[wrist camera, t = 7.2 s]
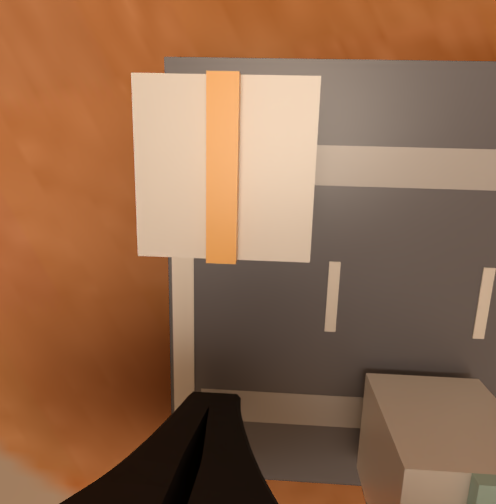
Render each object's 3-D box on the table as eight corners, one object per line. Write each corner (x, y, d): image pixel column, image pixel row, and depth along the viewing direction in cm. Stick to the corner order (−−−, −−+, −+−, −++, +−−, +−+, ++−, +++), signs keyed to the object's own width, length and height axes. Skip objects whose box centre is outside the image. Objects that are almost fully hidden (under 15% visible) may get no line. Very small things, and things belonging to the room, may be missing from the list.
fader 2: (478, 378, 12) (578, 491, 8) (462, 473, 12) (547, 618, 8) (365, 372, 12) (409, 480, 8) (356, 466, 12) (392, 607, 9)
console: (830, 78, 11) (918, 67, 10) (702, 474, 14) (754, 513, 12) (178, 68, 12) (163, 56, 10) (182, 441, 15) (172, 474, 13)
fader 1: (305, 100, 10) (323, 72, 6) (298, 225, 11) (311, 267, 7) (179, 98, 10) (124, 68, 6) (181, 221, 11) (132, 260, 7)
